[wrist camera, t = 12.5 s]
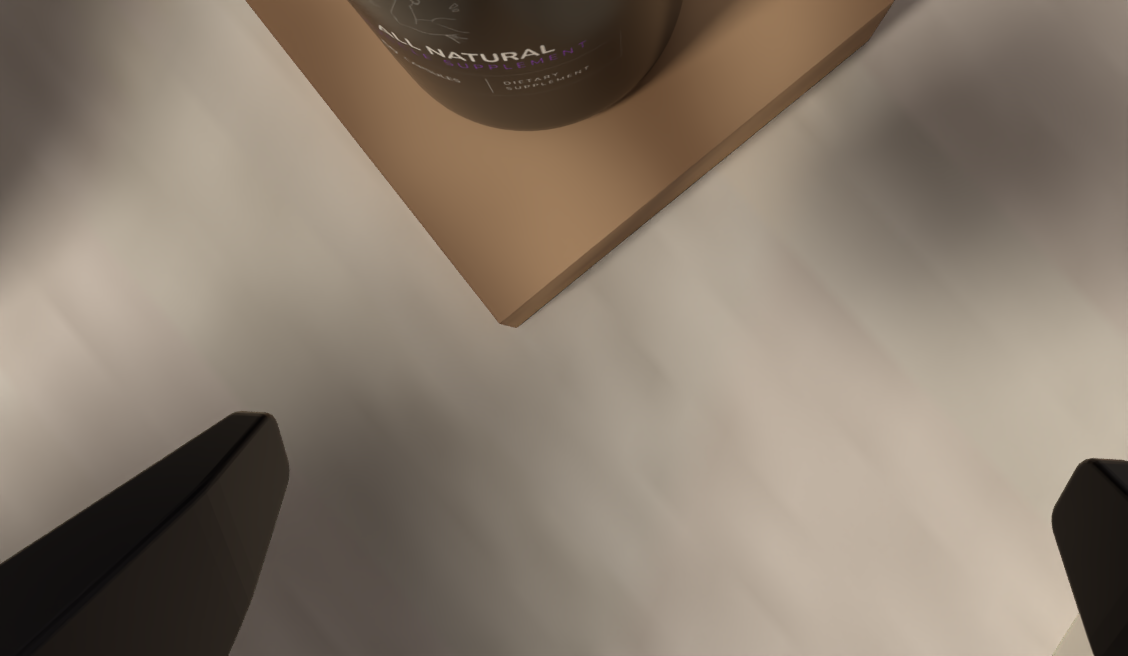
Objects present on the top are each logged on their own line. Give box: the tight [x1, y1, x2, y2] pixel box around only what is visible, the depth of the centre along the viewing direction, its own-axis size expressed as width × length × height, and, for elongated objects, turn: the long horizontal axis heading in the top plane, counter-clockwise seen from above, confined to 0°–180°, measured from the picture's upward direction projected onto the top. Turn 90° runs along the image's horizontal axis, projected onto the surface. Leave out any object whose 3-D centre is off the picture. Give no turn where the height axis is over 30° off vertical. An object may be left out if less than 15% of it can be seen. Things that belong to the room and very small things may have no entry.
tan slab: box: [246, 0, 895, 328], centre depth 18 cm, size 11×11×2 cm
